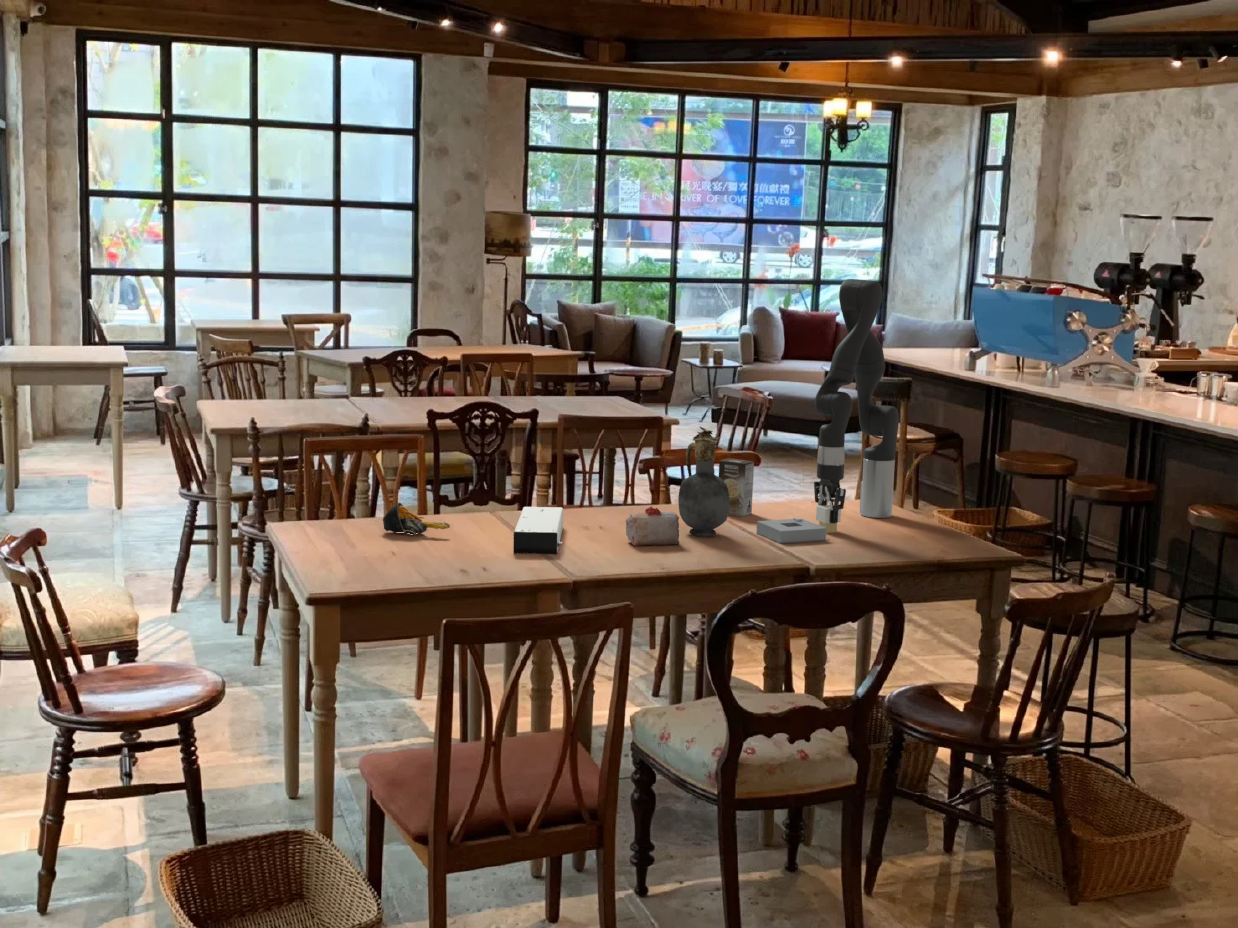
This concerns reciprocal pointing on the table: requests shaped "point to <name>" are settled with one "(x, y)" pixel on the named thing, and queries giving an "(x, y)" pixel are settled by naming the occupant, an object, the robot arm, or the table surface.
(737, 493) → the coffee box
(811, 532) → the socket plate
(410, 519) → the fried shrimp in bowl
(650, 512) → the food item
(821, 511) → the plug
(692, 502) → the pitcher
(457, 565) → the table surface
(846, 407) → the robot arm
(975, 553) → the table surface
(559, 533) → the laminator
